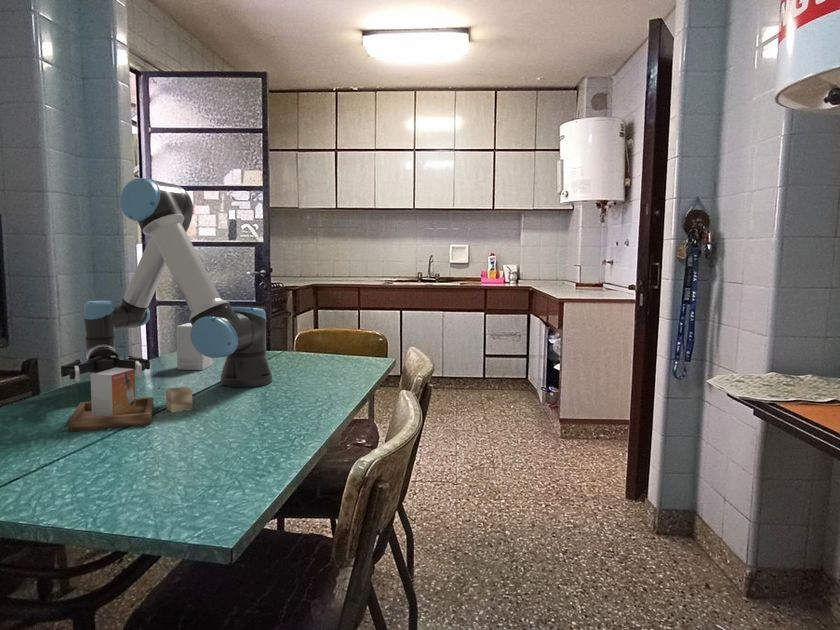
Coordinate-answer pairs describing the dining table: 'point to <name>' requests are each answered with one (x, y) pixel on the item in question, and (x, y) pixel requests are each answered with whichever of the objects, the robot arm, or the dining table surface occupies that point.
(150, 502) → the dining table surface
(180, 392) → the beech block
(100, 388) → the small box
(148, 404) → the tray
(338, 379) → the dining table surface
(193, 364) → the supplement box
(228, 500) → the dining table surface
